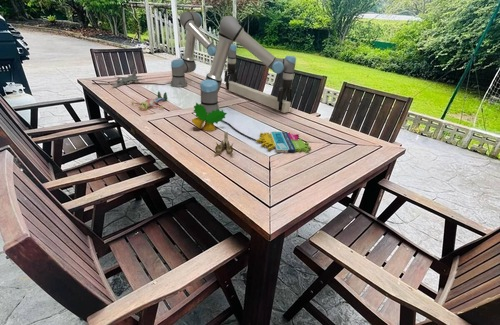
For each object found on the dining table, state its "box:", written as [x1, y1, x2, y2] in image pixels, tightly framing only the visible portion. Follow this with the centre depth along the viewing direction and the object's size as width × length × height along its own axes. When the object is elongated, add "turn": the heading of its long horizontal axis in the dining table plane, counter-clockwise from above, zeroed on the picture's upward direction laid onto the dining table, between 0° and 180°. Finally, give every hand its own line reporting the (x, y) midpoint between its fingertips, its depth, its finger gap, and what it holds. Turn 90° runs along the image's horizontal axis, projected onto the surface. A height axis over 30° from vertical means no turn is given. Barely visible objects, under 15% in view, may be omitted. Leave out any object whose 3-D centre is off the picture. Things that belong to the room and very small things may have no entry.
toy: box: [130, 91, 168, 111], centre depth 196 cm, size 28×7×30 cm
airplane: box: [110, 68, 145, 89], centre depth 248 cm, size 38×31×10 cm
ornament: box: [191, 102, 228, 132], centre depth 162 cm, size 21×8×15 cm, turn 105°
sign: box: [255, 131, 312, 154], centre depth 152 cm, size 26×2×30 cm
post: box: [225, 80, 292, 114], centre depth 221 cm, size 77×6×7 cm, turn 39°
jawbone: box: [214, 131, 234, 156], centre depth 136 cm, size 9×15×10 cm
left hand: (230, 89), depth 245 cm, fingers closed on post, 6 cm apart
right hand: (283, 109), depth 200 cm, fingers closed on post, 6 cm apart
